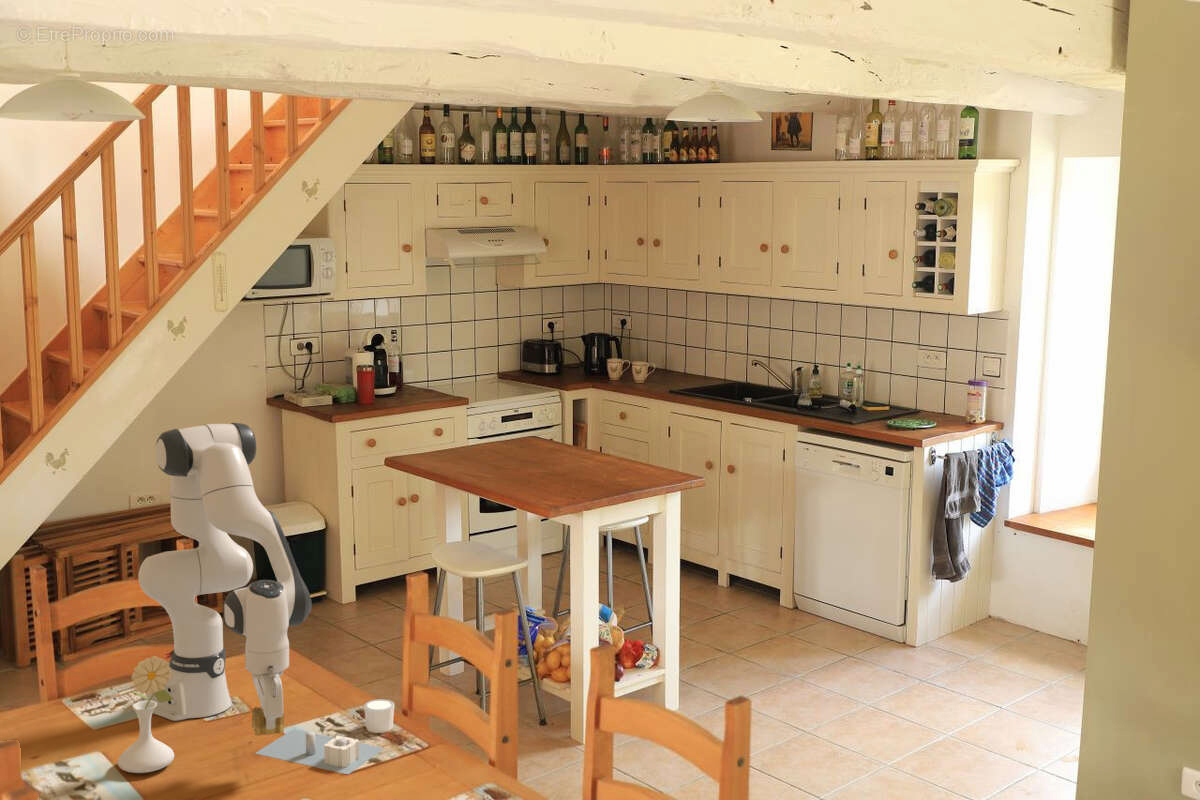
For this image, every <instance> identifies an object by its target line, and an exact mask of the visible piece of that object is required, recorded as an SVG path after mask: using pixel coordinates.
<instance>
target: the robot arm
mask: <svg viewBox="0 0 1200 800" xmlns="http://www.w3.org/2000/svg"><path fill="white" fill-rule="evenodd" d="M154 452H155V458H156V459H155V460H156V462H157V465H158V468H159V469H160V470H161V471H162V472H163V473H164V474H166V475H168V476H170V489H169V490H170V493H169V495H170V498H169V499H170V523H171V526H172V527H173V529H174V530H175V532H177V533H179V534H181V535H183V536H185V537H188V538H191V539H193V540H195V541H197V542H198V546H197V547H195V548H189V549H180V550H179V549H177V550H170V551H163V552H160V553H156V554H153V555H150V556H147V557H146V558H145V559H144V560H143V561H142V563H141V565H140V567H139V570H138V583H139V586H140V589H141V590H142V591H143V593H144V594H145V595H146V596H148V597H149V598H151V599H152V600H154V601H156V602H157V603H159V605H161V606H162V608H164V610H165V611H166V613H167V614H168V616H169V618H170V621H171V626H172V633H173V644H174V645H173V646H174V647H173V648H174V649H173V650H171V651H170V652H169V653H168V652H167V653H166V654H165V656H166V657H165V658H164V660H166V659H169V658H170V660H169V666H168V667H170V668H171V670H170V672H172V675H171V678H170V681H169V682H168V683H167V686H166V687H165V688H164V689H163V690H166V691H167V692H168V693H169V695H170V696H171V697H172V698H173V700H170V701H166V702H159V701H158V700H157V698H156V697H155V694H154V696H153V698H152V699H151V700H150V701H155V702H156V703H157V705H156V707H155V708H154V710H153V712H152V714H154V715H157V716H159V717H162V718H165V719H168V720H170V721H173V722H176V721H177V722H178V721H183V720H187V719H195V718H205V717H206V718H207V717H211V716H215V715H218V714H219V713H222V712H224V711H226V710H228V709H229V708H230V707H231V706H232V703H233V701H232V699H231V696H230V692H229V688H228V683H227V677H226V670H225V666H226V648H225V646H224V634H223V633H224V630H223V629H224V626H225V627H226V628H227V629H229V630H230V631H231V632H233V633H234V634H235V633H236V635H238V636H245V638H246V639H245V640H246V641H245V646H244V651H245V653H244V654H245V655H244V656H245V669H246V671H248V672H249V673H251V678H252V681H253V686H254V688H255V691H256V693H257V694H256V695H257V697H258V700H259V702H260V707H262V709H263V712H264V715H265V718H266V728H267V729H274V728H275V720H276V718H278V717H282V715H283V713H284V691H283V683H282V680H281V676H282V675H283V674H284V671H285V670H286V669H288V668H289V666H290V640H289V638H288V629H289V627H297V626H300V625H301V624H302V623H304V621H306V619H307V617H308V616H309V614H310V613H311V611H312V605H313V604H312V598H311V594H310V592H309V589H308V587H307V585H306V584H305V581H304V580H303V578H302V576H301V574H300V571H299V569H298V566H297V564H296V561H295V558H294V556H293V553H292V551H291V548H290V545H289V543H288V540H287V538H286V536H285V534H284V531H283V528H282V526H281V524H280V521H279V519H278V518H277V516H276V515H275V513H274V512H273V511H271V510H269V509H266V507H265V506H264V505H263V504H262V503H261V501H260V500H259V498H258V496H257V494H256V491H255V486H254V482H253V478H252V473H251V470H250V468H249V465H251V464H252V462H253V461H254V459H255V458H256V455H257V441H256V435H255V433H254V430H253V429H252V428H251V427H250V426H249V425H248V424H245V423H242V422H231V423H207V424H203V425H197V426H195V425H194V426H190V427H186V428H185V427H184V428H180V429H179V428H174V429H169V430H167V431H164V432H162V433H161V434H160V435H159V437H158V438H157V440H156V444H155V451H154ZM229 535H233V536H236V537H237V536H238V537H243V538H246V539H248V540H253V541H255V542H257V543H258V544H260V545H261V546H262V547H263V548H264V550H265V552H266V554H267V556H268V559H269V562H270V565H271V568H272V570H273V573H274V575H275V578H276V580H273V579H260V580H257V581H254V582H252V583H250V584H249V585H248V586H246V585H247V584H248V583H249V582H250V580H251V579H252V575H253V573H254V564H253V559H252V557H251V555H250V553H249V552H248V551H247V549H246V548H244V547H243V546H241V545H239V544H238V543H236V542H235V541H234V540H233V539H232V538H231V537H230V536H229ZM245 586H246V587H245ZM229 591H230V592H229ZM223 592H229V593H228V594H227V595H226V597H225V598H224V601H223V603H222V614H223V615H222V617H223V618H222V617H221V615H220V614H219V613H218V611H216V610H215V609H214V608H210V607H208V606H205V605H202V604H199V603H197V602H196V601H195V600H196V597H197V596H200V595H201V596H202V595H206V594H208V595H210V594H217V593H223ZM223 624H224V626H223ZM144 695H145V696H146V697H147V698H148V699H146V698H143V697H140V698H139V699H138V700H137V701H136V703H137V702H140V701H147V700H149V699H150V698H151V696H152V695H153V694H151V695H147V694H144Z"/></svg>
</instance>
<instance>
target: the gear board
mask: <svg viewBox="0 0 1200 800" xmlns="http://www.w3.org/2000/svg"><path fill="white" fill-rule="evenodd" d="M334 738H335V737H333V736H328V735H324V734H319V733H316V732H314V731H305V730H299V729H295V728H293V729H292V730H290V731H288V732H287V733H285V734H283V735H282V736H280V737H279V738H277V739H275V740H273V741H272V742H271V743H269V744H267V745H266V746H264V747H262V748H261V749H259V750H258V751H256V752H254V754H256V755H259V756H264V757H269V758H272V759H277V760H282V761H284V762H285V761H286V762H290V763H295V764H300V765H305V766H307V767H308V766H309V767H313V768H318V769H322V770H324V771H325V770H327V771H331V772H334V773H339V774H344V775H350V774H351V773H353V772H354V771H355V770H357V769H358V768H359V767H361V766H362V765H364V764H365V763H366V762H368V761H369V760H370V759H372V758H373V757H375V756H376V755H378V753H380V752H381V751H383V750H384V749H385V748H384V747H381V746H378V745H377V746H376V745H371V744H366V743H362V742H359V759H356V761H355V762H353V763H352V764H350V765H348V767H344V768H342V766H340V767H339V766H334V765H330V764H325V762H324V744H328V742H329V741H330V740H332V739H334ZM337 746H339V747H341V746H346V739H338V740H337Z"/></svg>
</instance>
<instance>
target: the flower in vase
mask: <svg viewBox="0 0 1200 800" xmlns="http://www.w3.org/2000/svg"><path fill="white" fill-rule="evenodd" d="M169 662H170V661H169ZM169 662H168V661H167V660H166V659H163V658H160V657H158V656H155V655H152V657H149V658H148V657H146V658H145V659H144V660H141V661H139V662H138V664H137V666H135V667H134V671H133V672H132V674H131V680H133V681H132V684H133V685H134V687H133V688H134V689H132V688H131V691H132V692H133V694H134V695H137V696H138V697H140V698H141V697H143V698H146V699H148V698H147V697H146V696H145V695H146V694H147V695H151V694H153V695H152V696H151V698H150V699H149V700H147V701H140V702H137V701H136V702H135V703H133V704H132V705H131V709H132V710H133V711H134V712H135V713H136V715H137V719H138V724H139V735H138V738H137V740H136V741H135V742H133V743H132V744H131V745H130V746H128V747H127V748H126V749H124V751H122V753H121V754H120V755H119V757H118V759H117V766H118V767H119V768H120V769H121V770H122V771H124V772H128V773H134V774H146V773H151V772H155V771H158V770H161V769H164V768H166V767H167V766H169V765H170V764H171V763H172V762H173V761H174V759H175V753H174V750H173V749H172V748H171V747H170V746H168V745H167V744H165V743H164V742H162V741H161V740H158V739H156V738H154V736H153V735H152V715H153V713H152V712H153V710H154V708H155V707H156V705H157V703H156V702H155V701H150V700H151V699H152V698H153V696H154V694H155V697H156V698H157V700H158V701H159V702H166V701H170V700H173V698H172V697H171V696H170V695H169V693H168V692H167V691H166V690H163V689H164V688H165V687H166V686H167V683H168V682H169V681H170V678H171V675H172V672H170V670H171V668H170V667H168V666H169Z"/></svg>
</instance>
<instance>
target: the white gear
mask: <svg viewBox="0 0 1200 800" xmlns="http://www.w3.org/2000/svg"><path fill="white" fill-rule="evenodd" d="M338 739H346V746H341V747H339V746H337V740H338ZM359 743H360V742H359V739H358V738H356V739H355V738H352V737H347V736H342V735H336V736H335V737H334V739H332V740H330V741H329V742H328V744H324V762H325V764H330V765H334V766H339V767H340V766H342V768H344V767H348V765H350V764H352V763H353V762H355V761H356V759H359Z"/></svg>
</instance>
